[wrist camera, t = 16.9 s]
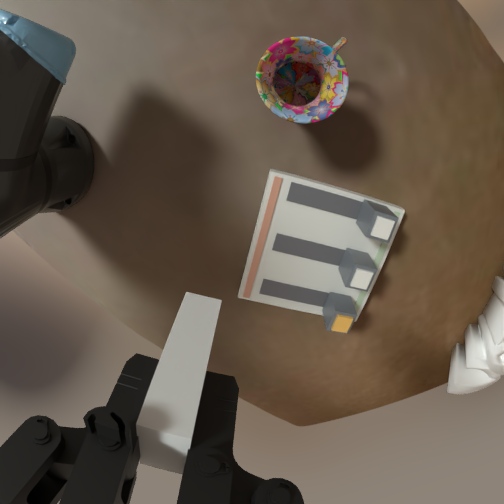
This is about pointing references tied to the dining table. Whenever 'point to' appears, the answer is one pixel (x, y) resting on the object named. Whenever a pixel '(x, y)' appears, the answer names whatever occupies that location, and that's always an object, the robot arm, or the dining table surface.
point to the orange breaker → (339, 313)
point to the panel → (316, 244)
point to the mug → (302, 79)
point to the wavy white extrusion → (480, 348)
